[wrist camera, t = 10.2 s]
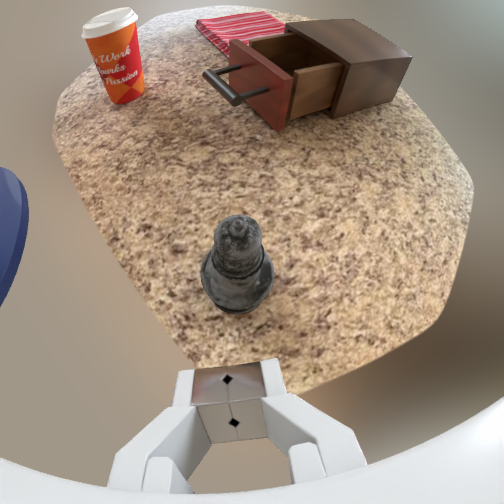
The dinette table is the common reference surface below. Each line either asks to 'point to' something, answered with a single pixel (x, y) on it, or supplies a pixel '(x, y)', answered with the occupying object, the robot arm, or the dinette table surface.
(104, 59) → the paper cup
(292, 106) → the drawer
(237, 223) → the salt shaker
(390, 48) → the cabinet
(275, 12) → the dinette table surface
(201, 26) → the dish towel
